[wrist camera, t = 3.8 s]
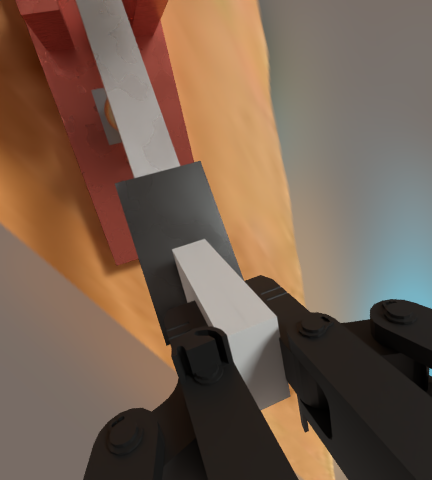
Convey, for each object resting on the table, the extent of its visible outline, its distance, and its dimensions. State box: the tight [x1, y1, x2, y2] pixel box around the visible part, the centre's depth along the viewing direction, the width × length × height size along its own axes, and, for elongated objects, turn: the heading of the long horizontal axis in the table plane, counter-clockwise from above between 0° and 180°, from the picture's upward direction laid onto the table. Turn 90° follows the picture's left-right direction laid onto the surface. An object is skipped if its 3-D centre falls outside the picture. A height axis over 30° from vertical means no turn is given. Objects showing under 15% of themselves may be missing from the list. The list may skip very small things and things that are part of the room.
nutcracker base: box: [15, 0, 194, 265], centre depth 24 cm, size 25×10×10 cm, turn 13°
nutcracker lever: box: [75, 0, 244, 346], centre depth 17 cm, size 23×4×2 cm, turn 13°
